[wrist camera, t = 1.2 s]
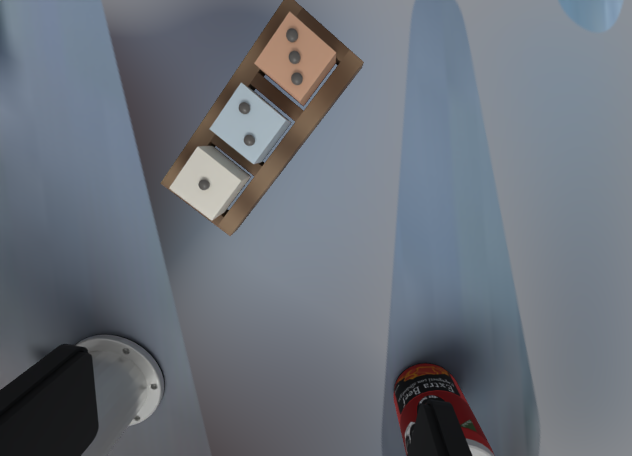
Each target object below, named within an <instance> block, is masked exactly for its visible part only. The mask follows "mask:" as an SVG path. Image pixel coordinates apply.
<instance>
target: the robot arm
mask: <svg viewBox="0 0 632 456" xmlns="http://www.w3.org/2000/svg"><path fill="white" fill-rule="evenodd" d="M163 393H164V379H163V376H162V372H161V370H160V368H159V366H158V364H157V362H156V361H155V360H154V359H153V357H152V356H151V355H150V354H149V353H148V352H147V351H146V350H145V349H144V348H142V347H141V346H139V345H138V344H136V343H134V342H132V341H130V340H128V339H126V338H122V337H119V336H114V335H95V336H91V337H88V338H86V339H84V340H81V341H80V342H78V343H77V344H76V345H68V344H63V345H60V346H59V347H57V348H56V349H55V350H53V351H52V352H51V353H49V354H48V355H47V356H45V357H44V358H43V359H41V360H40V361H39V362H37V363H36V364H35V365H33V366H32V367H31V368H29V369H28V370H27V371H25V372H24V373H23V374H21V375H20V376H19V377H17V378H16V379H15V380H13V381H12V382H11V383H9V384H8V385H7V386H5V387H4V388H3V389H1V390H0V456H107V455H108V454H109V452H110V451H111V449H112V448H113V447H114V445H115V444H116V442H117V441H118V440H119V438H120V437H121V436H122V434H123V433H124V431H125V430H126V429H127V427H128V426H130V425H135V424H137V423H140V422H142V421H144V420H145V419H147V418H148V417H150V416H151V414H152V413H153V412H154V411H155V410H156V408H157V407H158V405H159V404H160V402H161V399H162V397H163ZM407 456H472V453H471V451H470V448H469V446H468V443H467V441H466V438H465V436H464V433H463V431H462V428H461V426H460V423H459V421H458V418H457V416H456V413H455V411H454V408H453V406H452V404H451V403H450V402H445V401H438V400H432V399H428V400H427V402H426V404H420V406H419V410H418V414H417V418H416V422H415V426H414V430H413V434H412V438H411V442H410V446H409V450H408V454H407Z"/></svg>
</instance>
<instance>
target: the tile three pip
mask: <svg viewBox="0 0 632 456" xmlns="http://www.w3.org/2000/svg"><path fill="white" fill-rule="evenodd" d="M254 64H255V65H256V66H257V67H258V68H259V69H260V70H261V71H262V72H263V73H265V74H266V75H267V76H268V77H270V78H271V79H272V80H273V81H274V82H275V83H277V84H278V85H279V86H280V87H281V88H282V89H284V90H285V91H286V92H287V93H288V94H289V95H291V96H292V97H293V98H294V99H296V100H297V101H298V102H299V103H300V104H301V105H303V106H304V105H305V104H306V102H307V101H308V100H309V99H310V97H311V96H312V94H313V93H314V92H315V90H316V89H317V88H318V86H319V85H320V84H321V82H322V81H323V80H324V78H325V77H326V76H327V74H328V73H329V72H330V70H331V69H332V68H333V66H334V65H335V64H336V52H335V51H334V50H333V49H332V48H330V47H329V46H328V45H327V44H326V43H325V42H324V41H323V40H321V39H320V38H319V37H318V36H317V35H316V34H315V33H314V32H312V31H311V30H310V29H309V28H308V27H307V26H306V25H304V24H303V23H302V22H301V21H300V20H299V19H298V18H297V17H295V16H294V15H293V14H292V13H291V12H289V13H288V14H287V16H286V17H285V19H284V20H283V22H282V23H281V25H280V26H279V28H278V29H277V31H276V32H275V34H274V35H273V36H272V38H271V39H270V41H269V42H268V44H267V45H266V47H265V48H264V50H263V51H262V53H261V54H260V56H259V57H258V58H257V60H256V61H255V63H254Z"/></svg>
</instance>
